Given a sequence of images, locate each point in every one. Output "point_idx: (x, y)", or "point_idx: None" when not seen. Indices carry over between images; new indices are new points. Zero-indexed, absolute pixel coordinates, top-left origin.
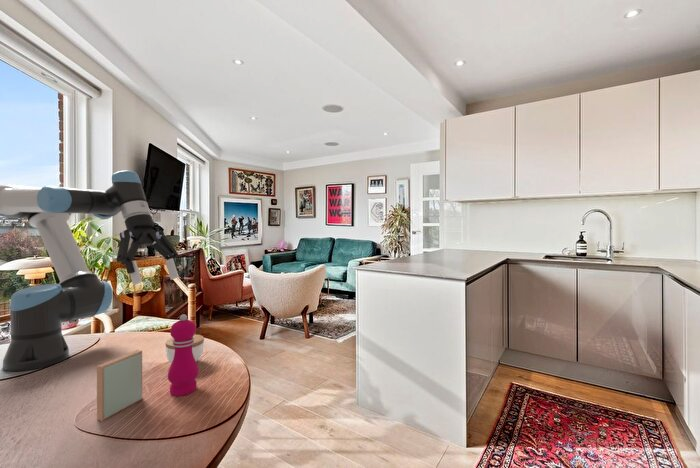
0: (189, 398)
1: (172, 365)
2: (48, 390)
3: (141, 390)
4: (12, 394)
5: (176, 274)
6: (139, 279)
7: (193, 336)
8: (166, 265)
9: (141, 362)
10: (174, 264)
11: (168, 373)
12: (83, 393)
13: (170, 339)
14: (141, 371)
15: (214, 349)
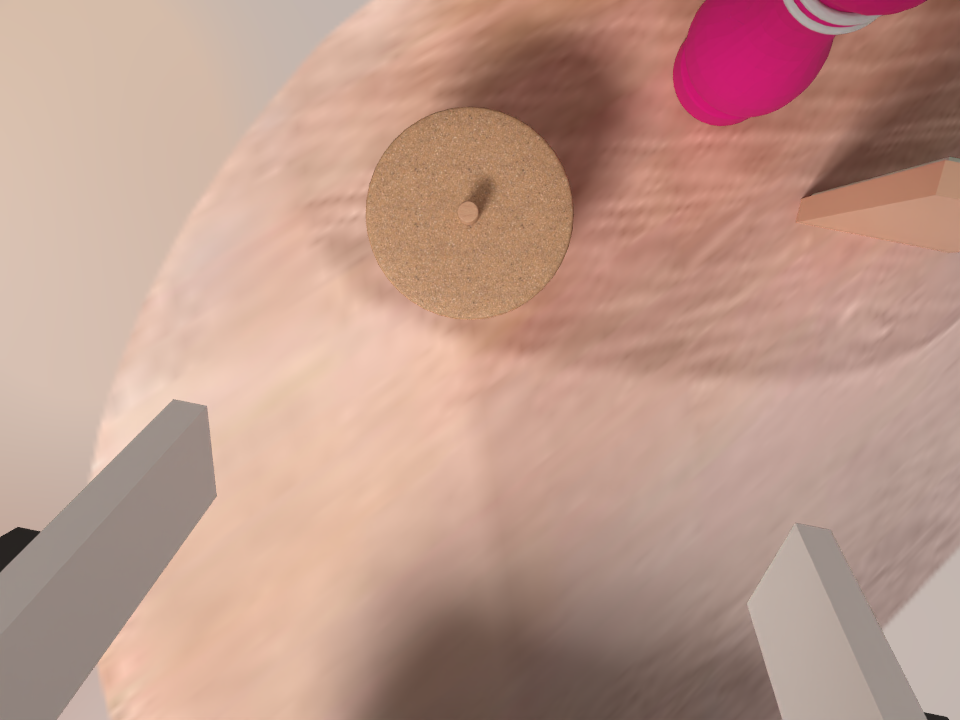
0: None
1: (825, 54)
2: None
3: (831, 189)
4: None
5: (183, 427)
6: (840, 554)
7: (415, 193)
8: (67, 702)
9: (913, 167)
10: (27, 557)
11: (805, 88)
12: (777, 454)
13: (484, 300)
14: (883, 175)
15: (267, 188)
